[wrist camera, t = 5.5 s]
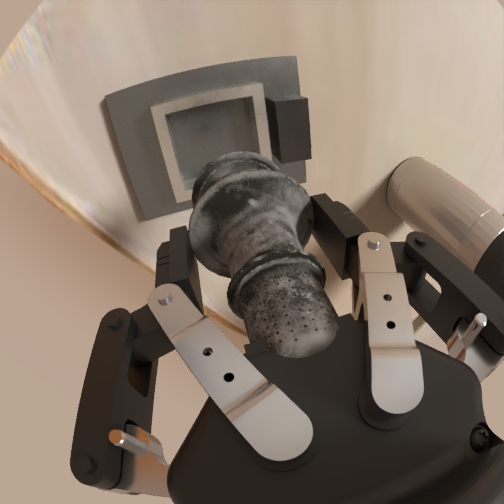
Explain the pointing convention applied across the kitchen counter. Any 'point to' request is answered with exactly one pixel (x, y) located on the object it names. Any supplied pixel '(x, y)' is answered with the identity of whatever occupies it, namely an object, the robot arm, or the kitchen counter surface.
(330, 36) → the kitchen counter surface
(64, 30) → the kitchen counter surface
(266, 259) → the grey chess piece
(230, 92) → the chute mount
